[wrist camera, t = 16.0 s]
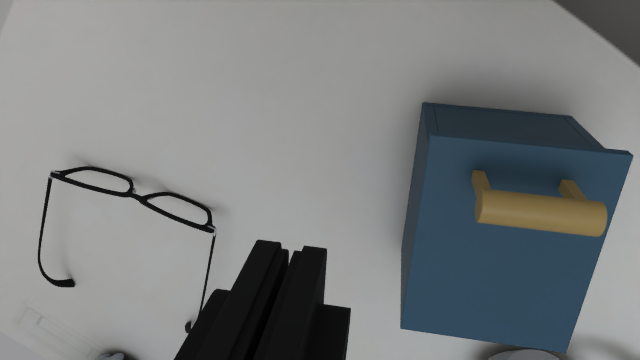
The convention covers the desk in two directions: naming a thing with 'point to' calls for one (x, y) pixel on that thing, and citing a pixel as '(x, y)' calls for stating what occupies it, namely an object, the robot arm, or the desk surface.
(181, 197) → the eyeglasses
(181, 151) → the desk surface
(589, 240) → the lid
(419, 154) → the chest
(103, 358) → the bottle
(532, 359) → the headphones
